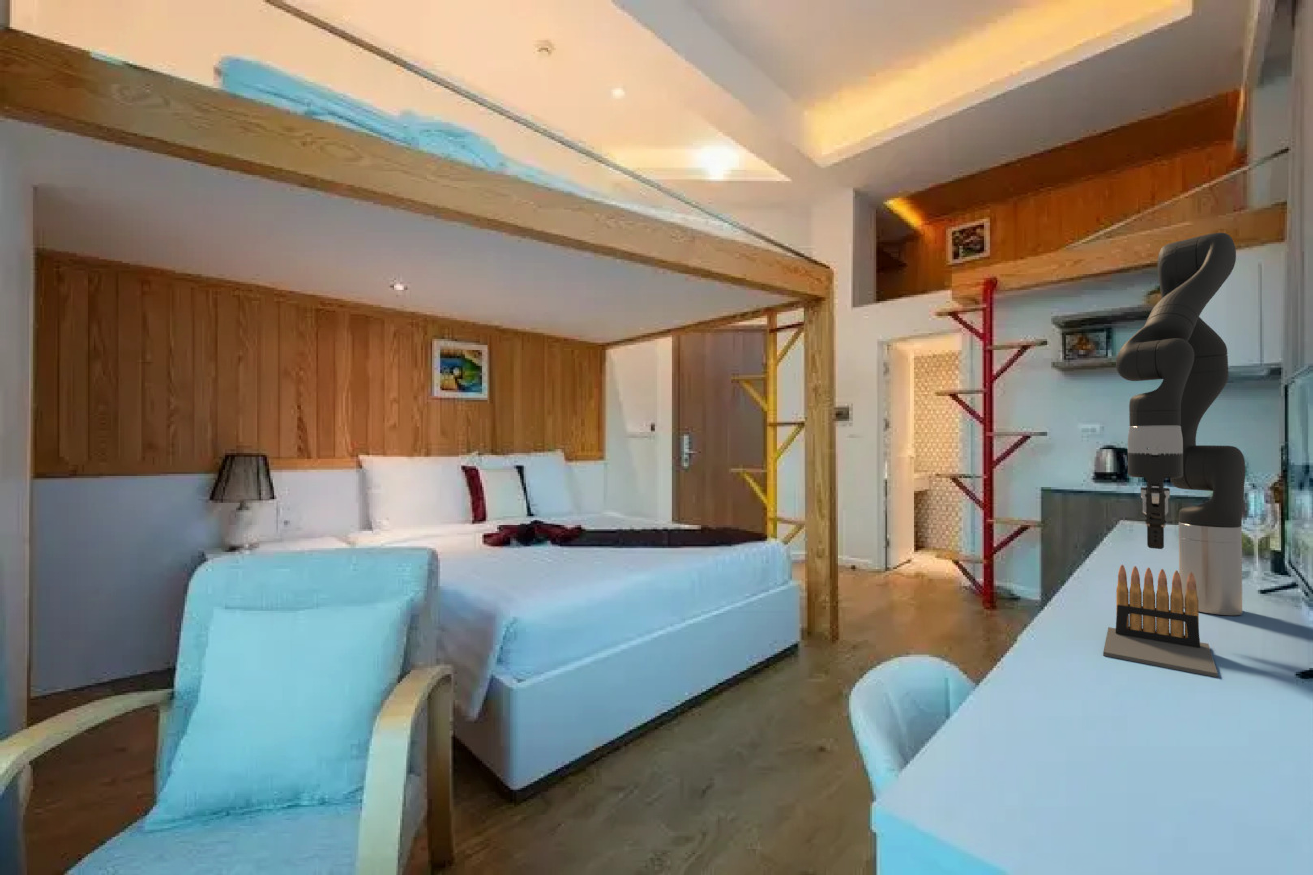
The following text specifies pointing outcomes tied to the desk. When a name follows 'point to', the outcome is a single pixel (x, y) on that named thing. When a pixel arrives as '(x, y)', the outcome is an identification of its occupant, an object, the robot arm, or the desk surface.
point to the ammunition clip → (1157, 609)
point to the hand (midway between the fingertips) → (1155, 545)
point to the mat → (1160, 653)
